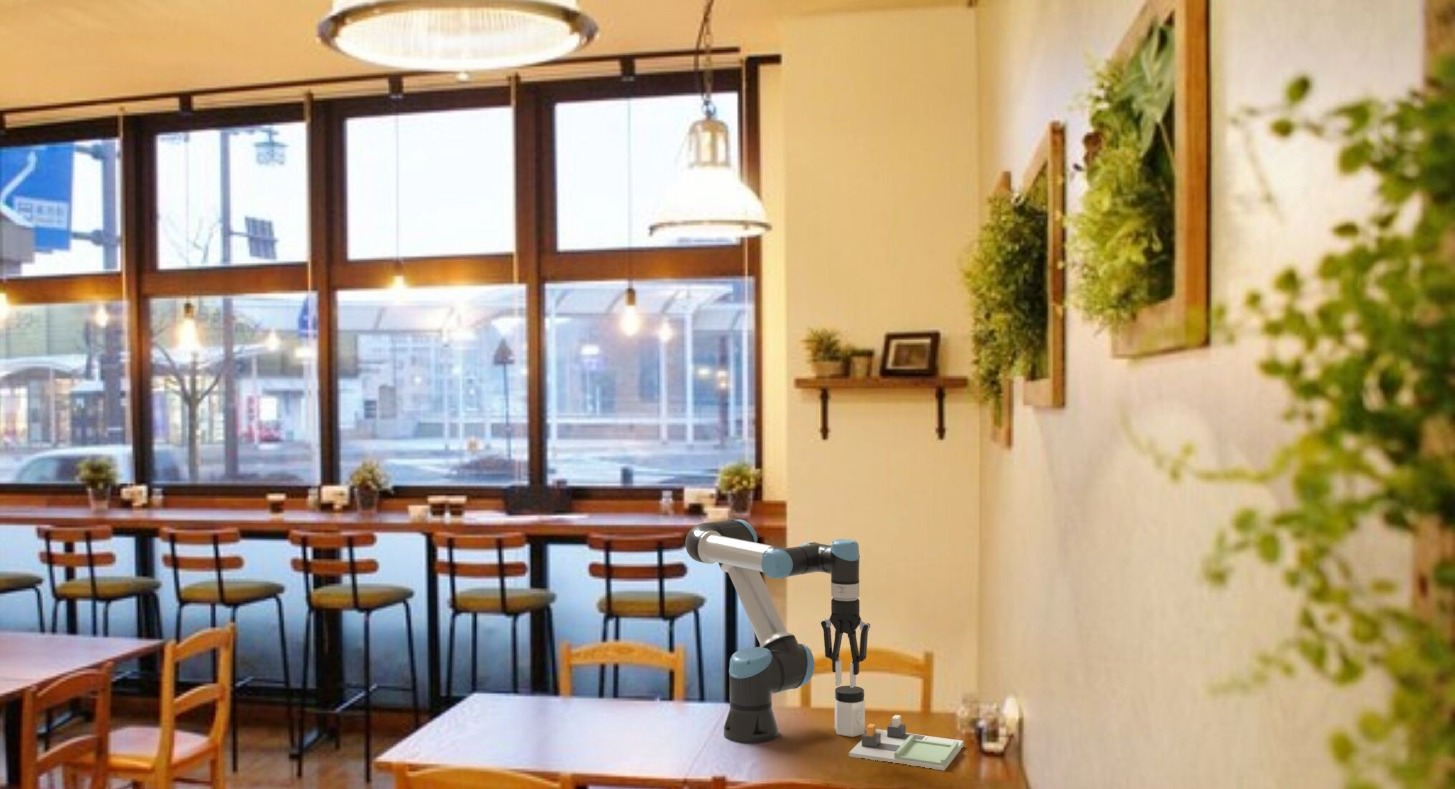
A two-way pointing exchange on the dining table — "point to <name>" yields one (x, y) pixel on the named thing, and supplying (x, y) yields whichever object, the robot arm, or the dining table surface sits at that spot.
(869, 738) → the toggle tagged
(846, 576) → the robot arm
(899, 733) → the toggle plain
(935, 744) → the panel
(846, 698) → the jar
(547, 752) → the dining table surface
